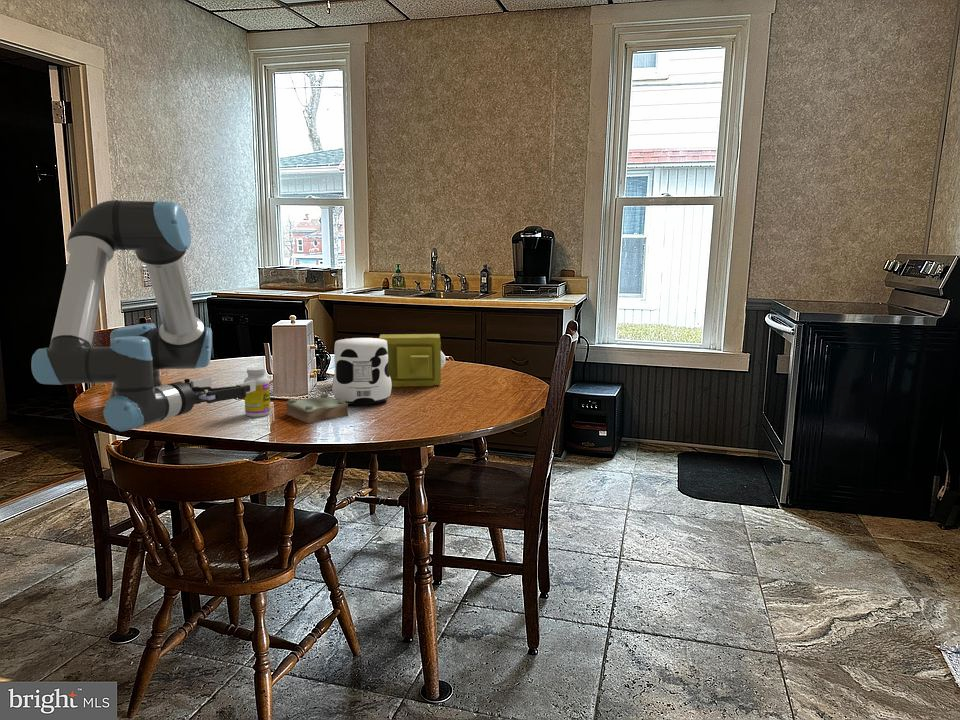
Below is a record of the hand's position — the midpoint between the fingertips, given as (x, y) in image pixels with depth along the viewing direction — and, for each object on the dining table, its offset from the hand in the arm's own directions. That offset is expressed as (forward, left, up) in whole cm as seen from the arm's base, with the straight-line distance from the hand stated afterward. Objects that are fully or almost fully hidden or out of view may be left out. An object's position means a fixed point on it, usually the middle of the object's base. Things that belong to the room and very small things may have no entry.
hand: (232, 383), depth 174 cm
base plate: (+21, -6, -11) cm, 24 cm away
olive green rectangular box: (+58, +13, -11) cm, 60 cm away
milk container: (+39, 0, -11) cm, 40 cm away
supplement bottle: (+9, +5, -11) cm, 15 cm away
